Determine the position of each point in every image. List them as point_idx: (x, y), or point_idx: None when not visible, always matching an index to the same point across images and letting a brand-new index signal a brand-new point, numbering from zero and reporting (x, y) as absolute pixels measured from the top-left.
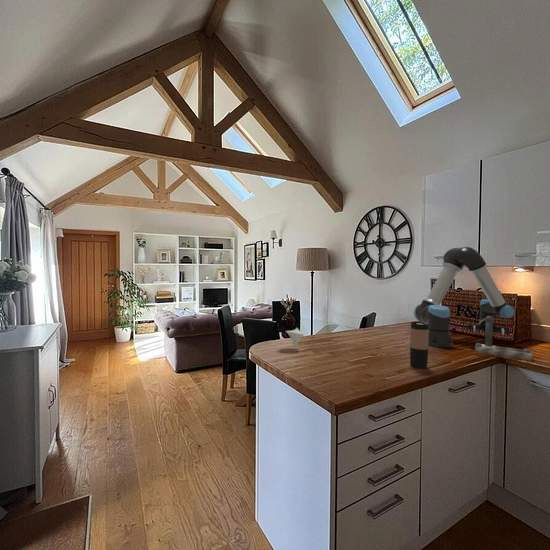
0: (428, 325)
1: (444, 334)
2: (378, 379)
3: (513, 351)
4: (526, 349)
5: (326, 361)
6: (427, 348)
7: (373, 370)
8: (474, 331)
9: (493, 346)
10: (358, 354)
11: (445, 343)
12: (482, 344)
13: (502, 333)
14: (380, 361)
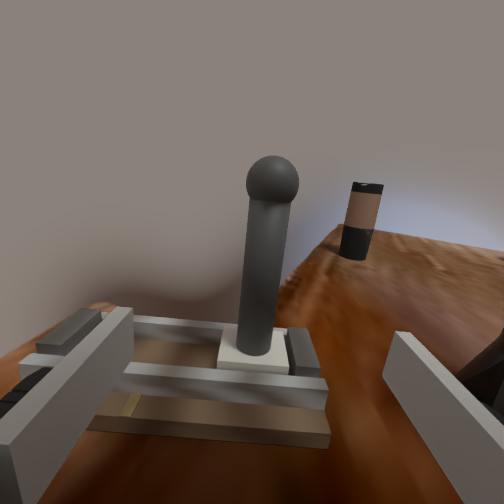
0: (353, 184)
1: (498, 337)
2: None
3: (153, 318)
4: (68, 329)
5: (437, 250)
6: (344, 222)
7: (375, 244)
8: (388, 373)
9: (229, 342)
10: (461, 269)
11: (459, 371)
12: (284, 361)
13: (133, 346)
14: (403, 258)
